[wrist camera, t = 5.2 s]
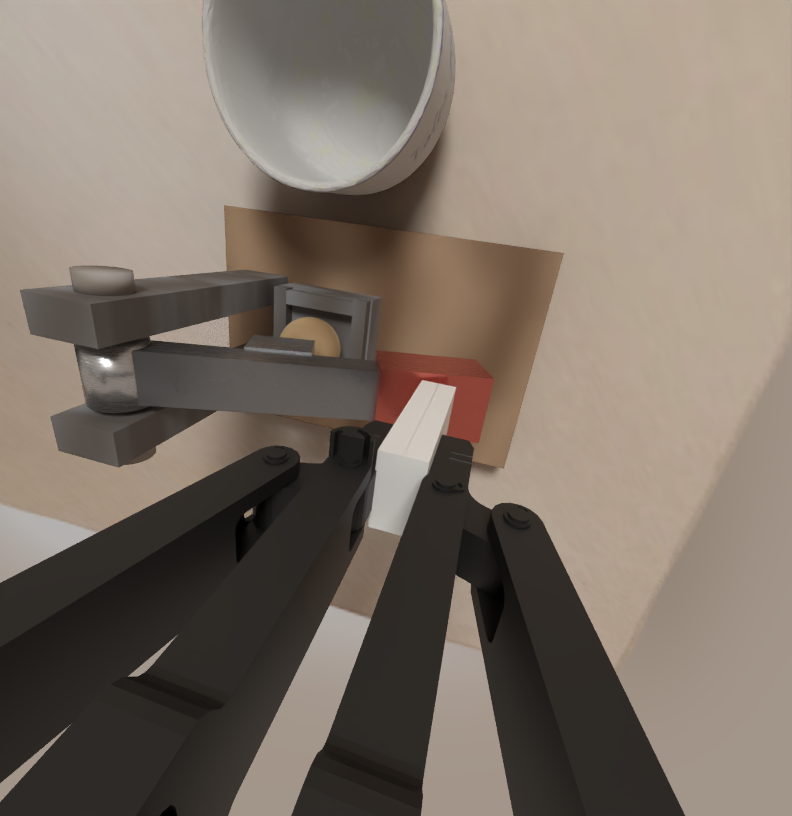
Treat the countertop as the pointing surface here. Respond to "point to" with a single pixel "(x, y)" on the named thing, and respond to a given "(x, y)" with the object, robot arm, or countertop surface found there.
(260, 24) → the teacup
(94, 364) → the lever
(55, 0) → the countertop surface
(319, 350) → the walnut
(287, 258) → the press base
